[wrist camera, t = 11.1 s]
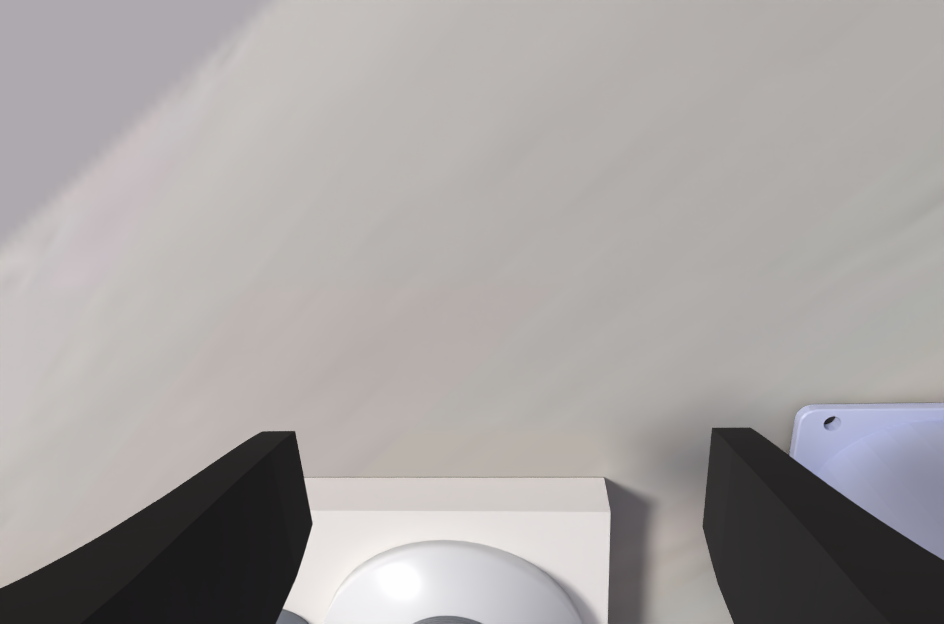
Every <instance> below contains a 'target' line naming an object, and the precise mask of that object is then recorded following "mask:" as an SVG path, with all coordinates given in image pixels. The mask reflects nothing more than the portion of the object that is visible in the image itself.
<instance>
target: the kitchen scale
mask: <svg viewBox="0 0 944 624" xmlns="http://www.w3.org/2000/svg"><path fill="white" fill-rule="evenodd" d="M304 481H305V486H306V491H307V496H308V502H309V507H310V512H311V517H312V522H313V525H312V528H311V532H310V535H309V539H308V542H307V546H306V549H305V553H304V556H303V559H302V562H301V565H300V568H299V571H298V574H297V577H296V580H295V582H294V584H293V587H292V589H291V591H290V593H289V596H288V598H287V600H286V602H285V604H284V607H283V609H282V611H281V613H280V616H279V618H278V620H277V622H276V624H413V623H415V622H417V621H419V620H422V619H425V618H429V617H434V616H459V617H465V618H469V619H472V620H475V621H478V622H480V623H482V624H607V623H608V587H609V550H610V514H611V512H610V506H609V501H608V496H607V491H606V485H605V480H604V478H304Z"/></svg>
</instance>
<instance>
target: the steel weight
mask: <svg viewBox="0 0 944 624" xmlns="http://www.w3.org/2000/svg"><path fill="white" fill-rule="evenodd" d="M413 624H482V623H480V622H478V621H475V620H472V619H469V618H465V617H459V616H434V617H429V618H425V619H422V620H419V621H417V622H415V623H413Z"/></svg>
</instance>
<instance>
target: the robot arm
mask: <svg viewBox="0 0 944 624" xmlns="http://www.w3.org/2000/svg"><path fill="white" fill-rule="evenodd" d="M833 416H835V419H834V421H832V422H831V423H829V424H824V422H825V420H826V419H827V418H829V417H833ZM312 525H313V522H312V517H311V512H310V507H309V502H308V496H307V491H306V486H305V481H304V476H303V470H302V465H301V460H300V455H299V450H298V444H297V439H296V434H295V431H267V432H261V433H259V434H257V435H255V436H253V437H252V438H250V439H248V440H247V441H245V442H244V443H242V444H241V445H239V446H238V447H236V448H235V449H233V450H231V451H230V452H229V453H227V454H226V455H224V456H223V457H221V458H220V459H218V460H217V461H215V462H214V463H212V464H211V465H209V466H208V467H207V468H205V469H204V470H202V471H201V472H199V473H198V474H196V475H195V476H193V477H192V478H190V479H189V480H187V481H186V482H184V483H183V484H181V485H180V486H178V487H177V488H175V489H174V490H172V491H171V492H170V493H168V494H167V495H165V496H164V497H162V498H160V499H159V500H157V501H156V502H154V503H152V504H151V505H149V506H148V507H146V508H144V509H143V510H141V511H140V512H138V513H136V514H135V515H133V516H132V517H130V518H128V519H127V520H125V521H124V522H122V523H121V524H119V525H117V526H116V527H114V528H113V529H111V530H109V531H108V532H106V533H104V534H103V535H101V536H99V537H98V538H96V539H94V540H92V541H91V542H89V543H87V544H85V545H84V546H82V547H80V548H78V549H77V550H75V551H73V552H71V553H69V554H67V555H66V556H64V557H62V558H60V559H58V560H56V561H54V562H52V563H51V564H49V565H47V566H45V567H43V568H41V569H39V570H37V571H35V572H34V573H32V574H30V575H28V576H26V577H24V578H22V579H20V580H18V581H15V582H13V583H11V584H9V585H7V586H5V587H3V588H0V624H276V622H277V620H278V618H279V616H280V613H281V611H282V609H283V607H284V604H285V602H286V600H287V598H288V596H289V593H290V591H291V589H292V587H293V584H294V582H295V580H296V577H297V574H298V571H299V568H300V565H301V562H302V559H303V556H304V553H305V549H306V546H307V542H308V539H309V535H310V532H311V528H312ZM703 530H704V534H705V538H706V541H707V545H708V549H709V553H710V557H711V561H712V564H713V568H714V571H715V575H716V578H717V582H718V585H719V587H720V590H721V593H722V595H723V598H724V600H725V603H726V605H727V608H728V610H729V612H730V615H731V617H732V620H733V622H734V624H944V403H895V404H813V405H807V406H805V407H803V408H801V409H800V410H799V411H798V412H797V414H796V417H795V421H794V428H793V434H792V441H791V448H790V454H789V455H788V454H786V453H785V452H784V451H782V450H781V449H780V448H778V447H777V446H776V445H774V444H773V443H772V442H770V441H769V440H767V439H766V438H765V437H763V436H762V435H760V434H759V433H758V432H756V431H755V430H753V429H751V428H712V435H711V445H710V456H709V466H708V476H707V487H706V497H705V508H704V518H703Z"/></svg>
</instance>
